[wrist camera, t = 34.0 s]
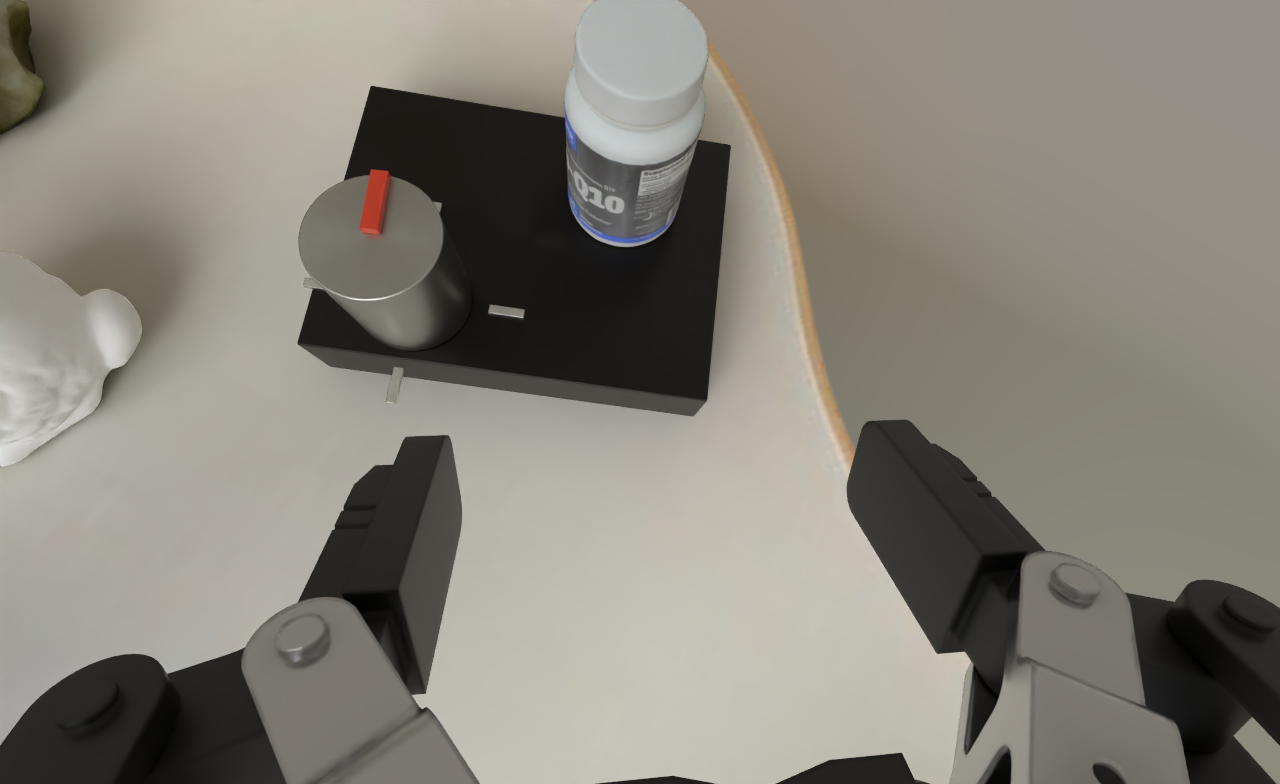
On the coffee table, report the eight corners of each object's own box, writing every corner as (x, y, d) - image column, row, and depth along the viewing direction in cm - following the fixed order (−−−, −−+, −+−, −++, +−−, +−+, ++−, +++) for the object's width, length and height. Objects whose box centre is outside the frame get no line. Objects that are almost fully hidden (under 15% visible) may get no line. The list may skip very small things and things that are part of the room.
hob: (311, 406, 25) (273, 386, 22) (386, 130, 28) (362, 80, 25) (689, 456, 26) (703, 445, 23) (716, 183, 29) (732, 142, 26)
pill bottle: (546, 187, 25) (527, 18, 17) (633, 134, 26) (655, -49, 18) (613, 271, 24) (627, 136, 16) (700, 213, 25) (754, 59, 17)
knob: (465, 356, 23) (430, 302, 18) (348, 346, 23) (279, 289, 17) (479, 253, 24) (449, 175, 19) (368, 243, 24) (308, 161, 18)
